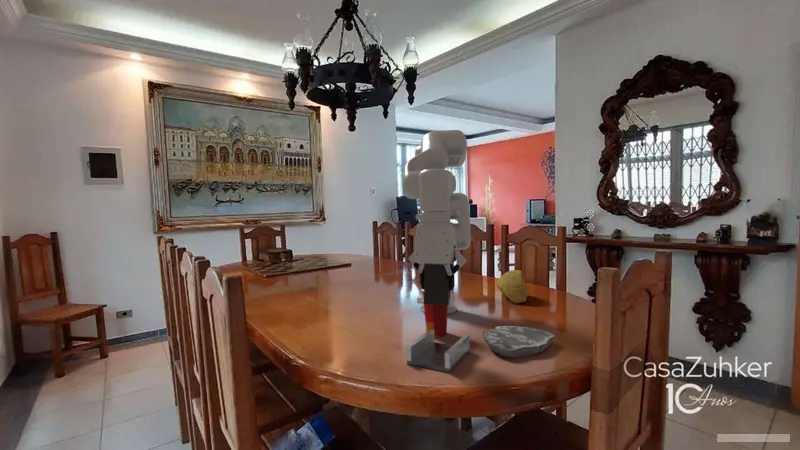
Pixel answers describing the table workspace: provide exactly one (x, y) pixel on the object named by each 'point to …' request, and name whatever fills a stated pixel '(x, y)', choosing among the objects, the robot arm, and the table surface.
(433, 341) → the guide cradle
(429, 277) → the phone stand
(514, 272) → the decorative stone
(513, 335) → the brain slice
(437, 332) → the coffee cup
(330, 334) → the table surface
